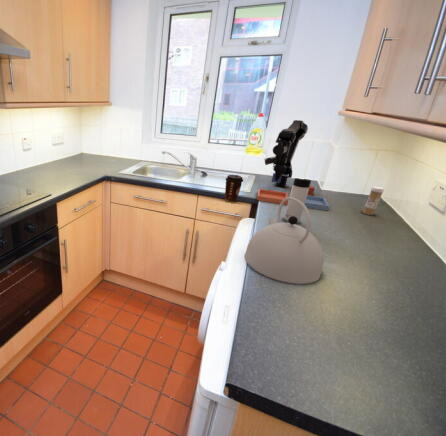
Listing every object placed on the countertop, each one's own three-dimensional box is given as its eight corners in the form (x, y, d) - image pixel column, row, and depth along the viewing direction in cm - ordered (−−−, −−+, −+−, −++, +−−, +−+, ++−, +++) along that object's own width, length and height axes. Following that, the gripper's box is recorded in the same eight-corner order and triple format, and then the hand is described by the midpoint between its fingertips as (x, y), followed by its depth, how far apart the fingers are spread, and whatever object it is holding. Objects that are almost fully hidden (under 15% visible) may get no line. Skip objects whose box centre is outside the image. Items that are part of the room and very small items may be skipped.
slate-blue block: (271, 180, 178) (273, 172, 176) (279, 181, 176) (281, 173, 174) (271, 181, 174) (273, 174, 172) (279, 183, 172) (281, 175, 170)
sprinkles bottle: (360, 212, 147) (369, 186, 142) (367, 211, 148) (377, 185, 142) (368, 215, 143) (378, 188, 137) (376, 215, 143) (387, 188, 138)
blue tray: (292, 197, 165) (293, 193, 164) (323, 201, 160) (324, 197, 159) (294, 205, 153) (295, 201, 152) (327, 210, 148) (329, 205, 147)
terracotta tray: (257, 192, 171) (258, 188, 170) (286, 197, 166) (287, 192, 165) (256, 200, 159) (257, 195, 158) (287, 204, 154) (288, 200, 153)
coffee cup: (237, 197, 162) (241, 174, 157) (241, 203, 154) (246, 178, 149) (220, 196, 163) (224, 173, 158) (224, 202, 155) (228, 177, 150)
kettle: (233, 243, 112) (245, 186, 103) (294, 245, 112) (310, 188, 103) (260, 282, 89) (278, 212, 80) (336, 285, 89) (363, 215, 80)
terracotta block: (302, 192, 175) (305, 185, 173) (311, 193, 173) (313, 186, 171) (303, 194, 171) (305, 187, 169) (312, 195, 169) (314, 188, 167)
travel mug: (284, 222, 132) (296, 179, 124) (282, 217, 137) (293, 175, 130) (300, 225, 130) (313, 180, 122) (297, 219, 135) (310, 177, 128)
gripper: (267, 149, 179) (261, 174, 185) (266, 154, 164) (260, 181, 170) (287, 151, 175) (281, 177, 181) (289, 156, 159) (282, 184, 166)
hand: (276, 179), depth 175 cm, fingers closed on slate-blue block, 4 cm apart
